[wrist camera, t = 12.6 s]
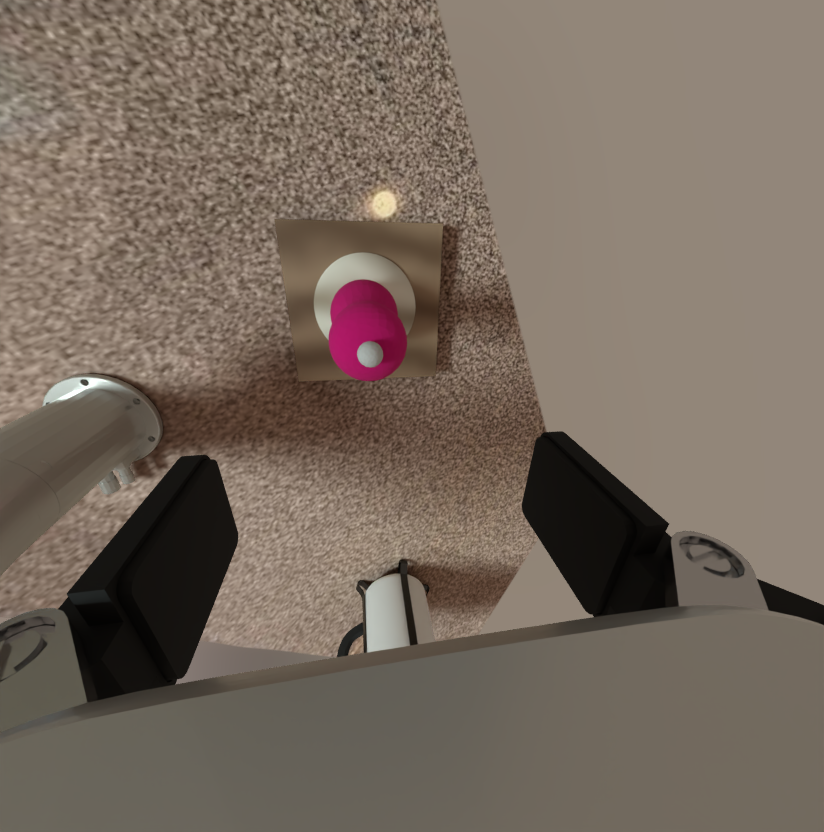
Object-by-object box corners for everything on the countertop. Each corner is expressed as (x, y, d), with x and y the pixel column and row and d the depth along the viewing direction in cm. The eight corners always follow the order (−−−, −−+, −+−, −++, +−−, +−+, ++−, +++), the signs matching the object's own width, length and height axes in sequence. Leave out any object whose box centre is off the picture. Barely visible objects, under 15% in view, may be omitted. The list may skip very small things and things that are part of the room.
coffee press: (364, 552, 61) (371, 782, 35) (440, 564, 66) (498, 774, 40) (337, 612, 68) (327, 844, 41) (409, 618, 73) (441, 830, 46)
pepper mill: (336, 341, 41) (323, 412, 23) (328, 277, 37) (304, 304, 20) (395, 337, 42) (425, 402, 24) (392, 274, 38) (423, 297, 21)
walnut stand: (431, 370, 47) (436, 376, 45) (301, 375, 45) (298, 382, 42) (438, 225, 39) (443, 223, 37) (279, 220, 37) (273, 218, 34)
